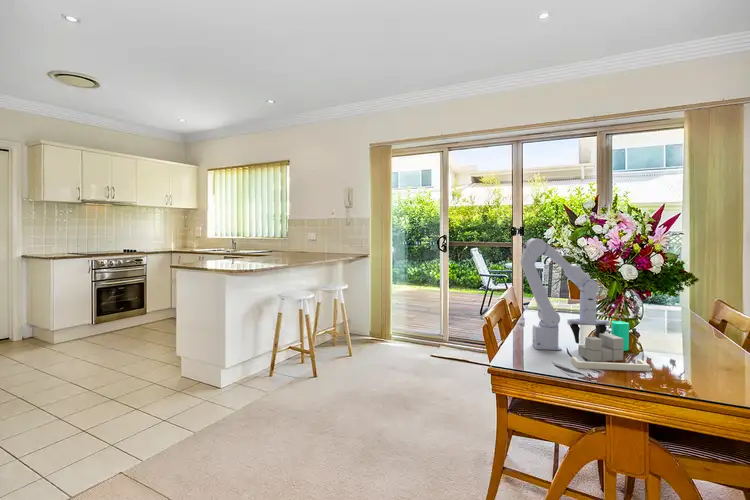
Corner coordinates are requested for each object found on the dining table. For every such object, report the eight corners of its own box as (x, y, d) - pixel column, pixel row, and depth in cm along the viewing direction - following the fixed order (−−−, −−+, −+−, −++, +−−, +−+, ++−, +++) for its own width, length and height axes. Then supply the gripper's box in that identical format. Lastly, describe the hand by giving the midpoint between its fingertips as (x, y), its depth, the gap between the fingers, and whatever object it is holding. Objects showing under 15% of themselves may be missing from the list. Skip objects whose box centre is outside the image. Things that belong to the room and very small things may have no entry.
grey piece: (577, 368, 135) (577, 362, 135) (571, 362, 141) (571, 356, 141) (649, 371, 131) (650, 365, 131) (640, 365, 137) (640, 359, 137)
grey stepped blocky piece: (601, 350, 154) (601, 330, 154) (623, 360, 143) (623, 338, 142) (572, 351, 153) (572, 331, 153) (591, 361, 142) (591, 339, 141)
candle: (631, 351, 153) (632, 320, 152) (614, 350, 154) (614, 319, 154) (625, 346, 159) (625, 316, 158) (608, 346, 160) (609, 316, 159)
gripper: (603, 307, 159) (603, 341, 159) (565, 306, 161) (564, 339, 162) (611, 310, 152) (610, 346, 152) (570, 310, 154) (570, 344, 155)
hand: (587, 343), depth 157 cm, fingers open, 7 cm apart
